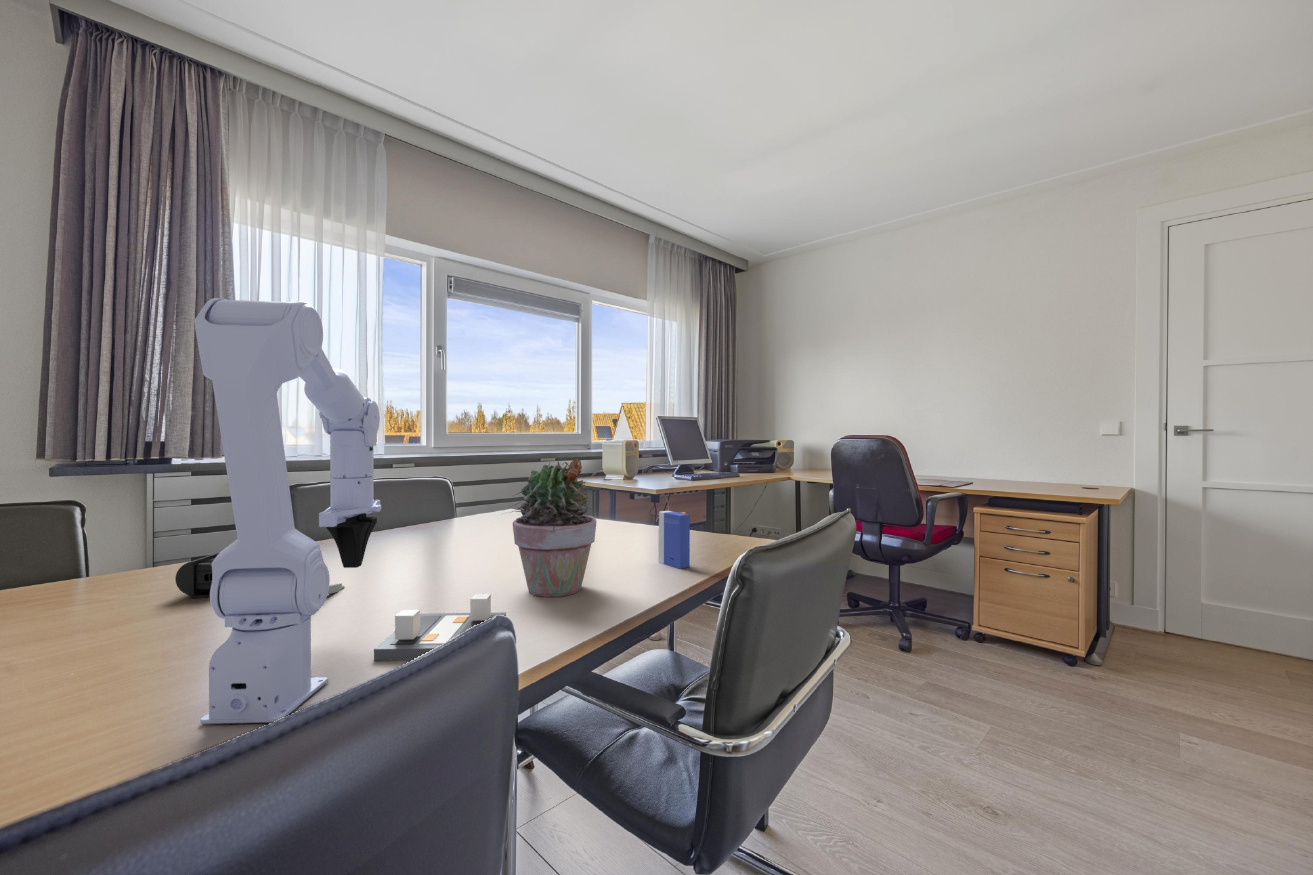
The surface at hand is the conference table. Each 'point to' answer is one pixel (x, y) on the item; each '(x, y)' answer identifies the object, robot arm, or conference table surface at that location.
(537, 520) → the potted plant
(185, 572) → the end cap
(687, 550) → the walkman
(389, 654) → the dip bank
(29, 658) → the conference table surface
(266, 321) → the robot arm
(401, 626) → the switch
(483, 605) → the switch
